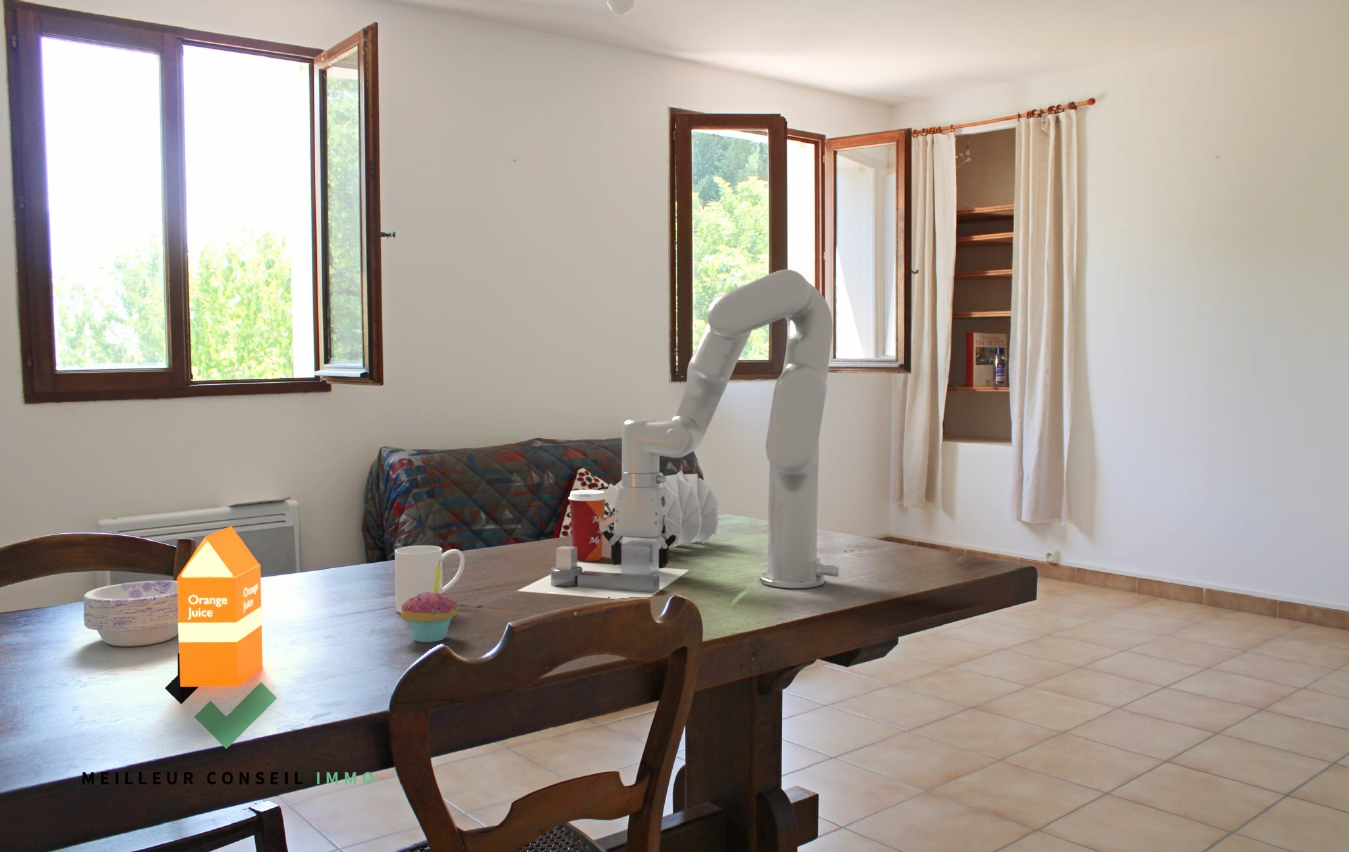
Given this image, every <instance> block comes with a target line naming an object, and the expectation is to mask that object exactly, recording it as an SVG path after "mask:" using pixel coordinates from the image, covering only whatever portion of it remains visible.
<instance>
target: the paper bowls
mask: <svg viewBox="0 0 1349 852" xmlns="http://www.w3.org/2000/svg"><path fill="white" fill-rule="evenodd" d="M83 621H84V622H83V623H84V627H85V628H87V629H88V630H94V631H97V632H98V634H99V636H100V638H101V639H102V641H103V642H104V643H105V644H108V645H111V646H115V647H125V648H126V647H143V646H150V645H151V646H152V645H154V644H155V645H156V644H160V643H163V642H167V641H169V640H171V639H173V638H175V637H176V636H179V633H178V623H179V618H178V582H177V580H145V581H144V580H143V581H134V582H124V583H117V584H112V585H105V586H103V587H98V588H95V589H92V590H89V591H88V592H86V593H84V595H83Z"/></svg>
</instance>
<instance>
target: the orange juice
mask: <svg viewBox="0 0 1349 852" xmlns="http://www.w3.org/2000/svg"><path fill="white" fill-rule="evenodd" d="M176 581H177V582H178V618H179V623H178V633H179V634H178V644H179V645H178V646H179V647H178V648H179V649H178V652H179V654H178V655H179V681H180V682H179V683H180V687H182V688H183V687H184V688H185V687H186V688H187V687H190V688H191V687H193V688H194V687H204V688H205V687H239V686H240V685H241V684H243V683H244V682H245V681H247V680H248V678H250V677H251V676H253V674H255V673H256V672H258V671H259V670H260V669H261V668H262V667H263V664H264V663H263V627H262V626H263V617H262V616H263V613H262V612H263V608H262V607H263V606H262V585H261V583H262V576H261V564H260V563H259V562H258V561H257V559H256V558H255V556H254V555H253V554H252V552H251V551H250V550H249V548H248V547H247V545H245V543H244V541H243V540H242V539H241V537H240V536H239V535H238V534H237V532H236V531H235V528H233V525H230V526H228V527H226V528H223V529H221V530H218V531H216V532H213V533H211V534H209V535H206V536H205V537H204V538H203V539H202V541H201V542H200V544H199V545H198V547H197V548H196V550H195V551H194V553H193V554H192V556H191V557H190V559H189V560H188V562H187V563H186V565H184V567H183V569H182V570H181V572H180V573H179V574H178V576H177V578H176Z"/></svg>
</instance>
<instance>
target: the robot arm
mask: <svg viewBox="0 0 1349 852" xmlns="http://www.w3.org/2000/svg"><path fill="white" fill-rule="evenodd" d="M706 319H707V324H706V325H705V327H704V329H703V332H702V334H701V337H700V338H699V342H698V344H697V345H696V347H695V350H694V351H693V353H692V356H691V358H690V361H689V362H688V366H687V370H686V382H685V383H686V384H685V388H684V391H683V392H682V393H683V394H682V397H681V399H680V401H679V403H678V406H677V407H676V410H675V412H674V414H673V415H672V416H673V417H672V419H670V420H663V421H661V420H660V421H657V420H655V419H651V418H631V419H630V418H629V419H626V420H625V421H624V422H623V423H622V426H621V427H622V428H621V480H622V486H620V487H619V489H618V493H617V499H616V506H615V508H614V515H611V516H609V517H607V518H604V520H603V521H601V522H599V526H600V528H601V530H602V532H603V538H605V539H606V540H607V541H608V543H609V545H610V546H611V549H610V551H611V552H610V555H611V556H610V557H611V558H610V559H611V560H612V564H613V565H620V564H621V545H623V543H622V542H620V541H622V540H623V537H634V538H650V539H654V538H655V539H656V540H657V542H658V543H659V544H660V546H661V548H660V549H659V568H661V569H663V568H667V565H668V564H669V561H670V549H669V546H671V544H672V543H674V542H675V541H676V540H677V538H678V536H679V534H680V532H681V530H682V526H681V525H679V524H677V523H676V522H674V521H672V520H671V519H669V518H667V509H666V500H665V493H664V489H663V488H662V487H659V485H660V484H661V483H665V482H666V476H667V475H663V476H662V475H661V474H660V473H661V472H660V456H662V457H667V458H673V459H679V458H683V457H685V456H687V455H689V454H690V453H692V452H694V451H695V450H696V449H698V447H699V446H700V444H701V442H702V441H703V439H704V437H705V435H706V433H707V430H708V428H709V426H710V423H711V421H712V420H713V417H714V415H715V413H716V410H717V409H718V406H719V404H720V400H721V399H722V396H723V394H724V393H725V390H726V389H727V386H728V384H729V382H730V378H731V377H732V374H733V373H734V370H735V367H736V365H737V363H738V362H739V359H740V356H741V354H742V353H743V350H744V349H745V346H746V344H747V343H748V340H749V338H750V336H751V333H752V331H755V330H757V329H759V328H763V327H764V326H767V325H769V324H772V323H774V322H777V321H778V320H782V319H785V320H786V322H787V326H788V332H787V340H786V347H785V355H784V362H783V367H782V371H781V374H780V375H779V376H778V378H777V380H776V382H775V384H774V390H773V395H772V400H771V401H772V402H771V408H770V412H769V413H770V414H769V415H770V416H769V421H768V425H767V426H768V428H767V434H766V441H765V454H766V457H767V460H768V462H769V464H768V465H769V468H768V469H769V471H768V502H767V503H768V504H767V505H768V508H767V510H768V511H767V512H768V513H767V514H768V515H767V520H768V522H767V524H768V525H767V526H768V527H767V532H768V533H767V571H763V572H762V573H760V574H759V581H760V582H761V583H762V584H764V585H766V586H771V587H776V588H781V589H782V588H784V589H809V588H816V587H819V586H822V585H824V583H825V582H826V581H825V576H828V577H835V578H836V577H837V578H839V577H840V566H835V565H834V564H833V565H832V564H823V563H821V557H818V507H819V506H818V504H819V460H820V443H819V439H820V434H821V429H822V428H821V426H822V422H823V416H824V415H823V414H824V408H825V402H826V397H827V393H828V388H827V387H828V386H827V382H828V381H827V380H828V371H829V364H830V360H831V359H830V356H831V349H832V340H833V328H834V327H833V317H832V311H831V309H830V307H829V304H828V302H827V300H826V299H825V297H824V296H823V294H822V293H821V291H819V290H818V288H816V287H815V286H813V284H811V283H810V282H809V281H808V280H807V279H806V277H804V275H802V274H801V273H799V272H798V271H796V270H794V269H793V270H792V269H779V270H777V271H774V272H771V273H769V274H767V275H765V276H762V277H760V278H758V279H756V280H753V281H750V282H748V283H747V284H744V285H742V286H739V287H737V288H735V289H732V290H729V291H728V292H725V293H723V294H721V295H718V296H717V297H716V298H714V299H713V301H712V302H711V303H710V305H709V307H708V309H707V318H706ZM612 523H613V530H614V533H613V532H612V531H611V529H610V527H609V526H610V524H612ZM667 526H668V527H669V528H671V529H672V530H673V532H672V534H671V536H670V537H669V538H667V536H666V535H665V534H666V533H667Z"/></svg>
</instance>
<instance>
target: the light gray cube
mask: <svg viewBox="0 0 1349 852" xmlns="http://www.w3.org/2000/svg"><path fill="white" fill-rule="evenodd" d="M659 549H660V544H659V543H658V542H657V541H641V540H631V541H629V542H627V543H625V544H624V543H622V545H621V563H620V565H621V573H622V574H636V575H650V576H652V575H654V574H655V573H657V572H659Z"/></svg>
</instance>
